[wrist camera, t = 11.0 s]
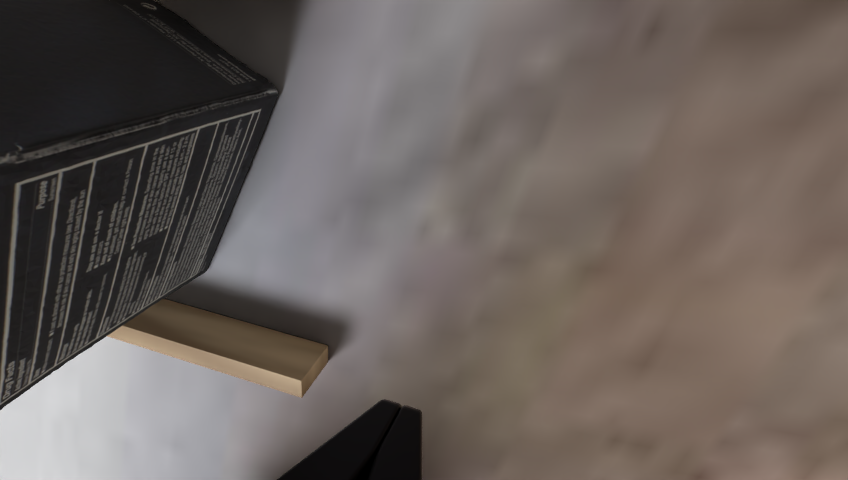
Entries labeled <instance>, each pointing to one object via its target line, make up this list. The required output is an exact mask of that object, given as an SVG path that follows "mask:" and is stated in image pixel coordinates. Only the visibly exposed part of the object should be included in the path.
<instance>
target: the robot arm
mask: <svg viewBox="0 0 848 480" xmlns="http://www.w3.org/2000/svg"><path fill="white" fill-rule="evenodd" d="M277 480H422V412H421V411H420V410H419V409H416V408H412V407H409V406H403V407H402V406H401V405H400V404H399V403H396V402H393V401H389V400H386V399H384V400H381V401H379V402H378V403H377V404H375V405H374V406H373V407H371V408H370V409H369V410H367V411H366V412H365V413H364V414H362V415H361V416H360V417H358V418H357V419H356V420H354V421H353V422H352V423H350V424H349V425H348V426H347V427H345V428H344V429H343V430H341V431H340V432H339V433H337V434H336V435H335V436H334V437H332V438H331V439H330V440H328V441H327V442H326V443H324V444H323V445H322V446H320V447H319V448H318V449H317V450H315V451H314V452H313V453H311V454H310V455H309V456H307V457H306V458H305V459H303V460H302V461H301V462H300V463H298V464H297V465H296V466H294V467H293V468H292V469H290V470H289V471H288V472H286V473H285V474H284V475H283V476H281V477H280V478H279V479H277Z"/></svg>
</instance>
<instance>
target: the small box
mask: <svg viewBox="0 0 848 480" xmlns="http://www.w3.org/2000/svg"><path fill="white" fill-rule="evenodd" d="M278 94H279V93H278V91H277V89H276V87H275V86H274V85H273V84H272V83H269V82H268V80H267V79H266V78H264V77H262V76H261V75H259V74H256V73H254V72H253V71H251V70H250V69H249V68H248V67H247V66H246V65H245V64H243V63H240V62H239V61H238V60H236V59H235V58H233V57H232V56H231V55H229V54H228V53H227V52H225V51H224V50H222V49H221V48H219V47H218V46H217V45H215V44H214V43H213V42H211V41H210V40H209V39H208V38H207V37H205V36H203V35H202V34H200V33H199V32H198V31H196V30H195V29H194V28H192V27H191V26H190V25H189V23H188V22H187V21H186V20H183V19H182V18H180V17H179V16H177V15H176V14H174V13H173V12H171V11H169V10H168V9H166V8H164V7H162V6H161V5H160V4H158V3H157V2H155V1H154V0H0V410H1V409H2V408H3V407H4V406H6V405H7V404H9V403H10V402H12V401H13V400H14V399H16V398H17V397H19V396H20V395H21V394H23V393H24V392H26V391H27V390H29V389H30V388H31V387H32V386H33V385H35V384H36V383H38V382H39V381H41V380H42V379H44V378H45V377H47V376H48V375H50V374H51V373H52V372H53V371H55V370H57V369H59V368H60V367H61V366H63V365H64V364H65V363H66V362H68V361H70V360H71V359H73V358H75V357H76V356H77V355H79V354H80V353H82V352H83V351H85V350H87V349H88V348H90V347H92V346H93V345H94V344H95V343H97V342H98V341H100V340H101V339H103V338H105V337H106V336H108V335H109V334H111V333H112V332H114V331H115V330H117V329H118V328H119V327H121V326H123V325H124V324H126V323H127V322H128V321H130V320H132V319H133V318H135V317H136V316H138V315H139V314H141V313H142V312H144V311H145V310H147V309H148V308H149V307H151V306H152V305H154V304H156V303H158V302H159V301H160V300H162V299H163V298H165V297H166V296H168V295H169V294H171V293H173V292H174V291H176V290H177V289H179V288H180V287H182V286H184V285H186V284H187V283H188V282H190V281H192V280H193V279H195V278H196V277H198V276H200V275H202V274H203V273H205V272H206V271H207V269H208V266H209V264H210V261H211V259H212V256H213V254H214V252H215V250H216V247H217V245H218V242H219V240H220V237H221V235H222V232H223V230H224V228H225V225H226V223H227V220H228V217H229V215H230V213H231V210H232V208H233V206H234V203H235V200H236V198H237V195H238V193H239V191H240V188H241V186H242V183H243V181H244V179H245V176H246V174H247V171H248V169H249V166H250V164H251V162H252V159H253V156H254V154H255V152H256V149H257V147H258V144H259V142H260V139H261V137H262V134H263V132H264V129H265V127H266V124H267V122H268V119H269V116H270V114H271V111H272V109H273V106H274V104H275V101H276V99H277V97H278Z"/></svg>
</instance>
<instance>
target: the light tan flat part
mask: <svg viewBox="0 0 848 480" xmlns="http://www.w3.org/2000/svg"><path fill="white" fill-rule="evenodd" d="M108 337H111V338H115V339H118V340H121V341H124V342H127V343H130V344H134V345H137V346H140V347H143V348H146V349H149V350H152V351H156V352H159V353H162V354H165V355H168V356H171V357H175V358H178V359H181V360H184V361H187V362H190V363H193V364H197V365H200V366H203V367H206V368H209V369H212V370H216V371H219V372H222V373H225V374H228V375H231V376H234V377H238V378H241V379H244V380H247V381H250V382H253V383H257V384H260V385H263V386H266V387H269V388H272V389H275V390H279V391H282V392H285V393H288V394H291V395H294V396H298V397H301V398H302V397H303V396H304V394H305V393H306V391H307V390H308V389H309V387H310V386H311V385H312V383H313V382H314V380H315V379H316V378H317V376H318V375H319V374H320V372H321V371H322V369H323V368H324V367H325V365H326V364H327V363H328V346H327V345H324V344H320V343H317V342H313V341H310V340H306V339H303V338H299V337H296V336H292V335H289V334H285V333H282V332H278V331H275V330H271V329H268V328H264V327H261V326H257V325H254V324H250V323H247V322H243V321H240V320H237V319H233V318H230V317H226V316H223V315H219V314H216V313H212V312H209V311H205V310H202V309H198V308H195V307H191V306H188V305H184V304H181V303H177V302H174V301H170V300H167V299H162V300H160V301H159V302H158V303H156V304H154V305H152V306H151V307H149V308H148V309H147V310H145V311H144V312H142V313H141V314H139V315H138V316H136V317H135V318H133V319H132V320H130V321H128V322H127V323H126V324H124V325H123V326H121V327H119V328H118V329H117V330H115V331H114V332H112V333H111V334H109V335H108Z"/></svg>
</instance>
